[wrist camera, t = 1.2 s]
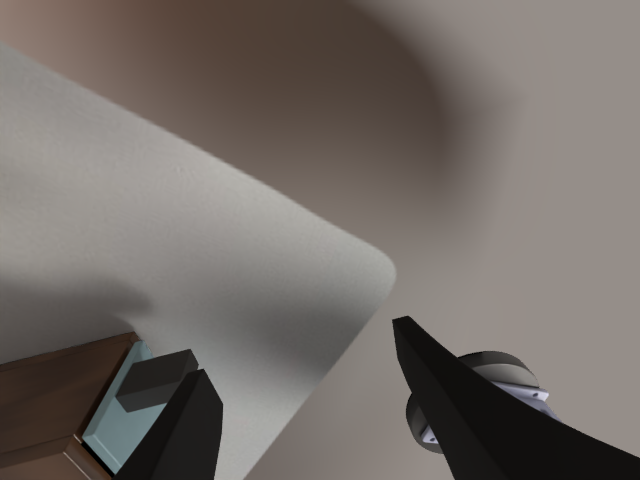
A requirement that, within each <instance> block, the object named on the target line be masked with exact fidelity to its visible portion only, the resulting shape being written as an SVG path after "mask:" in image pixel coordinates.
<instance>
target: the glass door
mask: <svg viewBox="0 0 640 480" xmlns="http://www.w3.org/2000/svg"><path fill="white" fill-rule="evenodd" d="M198 365H199V364H198V362H197V360H196V358H195V356H194V354H193V353H192V351H191V349H188V350H184V351H180V352H176V353H172V354H168V355H164V356H160V357H156V358H154V356H153V355H152V353H151V352H150V350H149V348H148V347H147V345H146V343H145V342H144V340H142V341H138V342H135V343H134V345H133V347H132V349H131V350H130V352H129V354H128V356H127V357H126V359H125V361H124V363H123V365H122V366H121V368H120V370H119V372H118V373H117V375H116V377H115V379H114V381H113V382H112V384H111V386H110V388H109V389H108V391H107V393H106V395H105V397H104V398H103V400H102V402H101V404H100V405H99V407H98V409H97V411H96V413H95V414H94V416H93V418H92V420H91V422H90V423H89V425H88V427H87V429H86V430H85V432H84V434H83V436H82V439H83V440H84V441H85V442H86V443H87V444H88V445H89V446H90V447H91V448H92V450H93V451H94V452H95V453H96V454H97V455H98V456H99V457H100V458H101V459H102V461H103V462H104V463H105V464H106V465H107V466H108V467H109V468H110V469H111V470H112V472H113V473H114V474H116V473H117V472H118V471H119V469H120V468H121V467H122V466H123V464H124V463H125V462H126V460H127V459H128V458H129V456H130V455H131V454H132V452H133V451H134V449H135V448H136V447H137V445H138V444H139V443H140V441H141V440H142V439H143V437H144V436H145V435H146V433H147V432H148V430H149V429H150V428H151V426H152V425H153V423H154V422H155V420H156V419H157V417H158V416H159V414H160V413H161V412H162V410H163V409H164V407H165V406H166V404H167V403H168V401H169V400H170V398H171V397H172V395H173V394H174V392H175V391H176V389H177V388H178V386H179V385H180V383H181V382H182V380H183V379H184V377H185V376H186V374H187V373H188V372H192V371H196V370H197V369H198Z"/></svg>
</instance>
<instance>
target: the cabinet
mask: <svg viewBox="0 0 640 480" xmlns="http://www.w3.org/2000/svg"><path fill="white" fill-rule="evenodd" d="M138 341H140V340H139V339H138V337H137V335H136V334H135V332H131V333H127V334H123V335H119V336H115V337H111V338H107V339H103V340H99V341H95V342H91V343H87V344H83V345H79V346H74V347H70V348H66V349H62V350H58V351H54V352H50V353H46V354H42V355H38V356H34V357H30V358H26V359H22V360H18V361H14V362H10V363H6V364H2V365H0V480H111V479H112V478H113V477H114V476H115V474H114V473H113V472H112V470H111V469H110V468H109V467H108V466H107V465H106V464H105V463H104V462H103V461H102V459H101V458H100V457H99V456H98V455H97V454H96V453H95V452H94V451H93V450H92V448H91V447H90V446H89V445H88V444H87V443H86V442H85V441H84V440H83V439H82V436H83V434H84V432H85V430H86V429H87V427H88V425H89V423H90V422H91V420H92V418H93V416H94V414H95V413H96V411H97V409H98V407H99V405H100V404H101V402H102V400H103V398H104V397H105V395H106V393H107V391H108V389H109V388H110V386H111V384H112V382H113V381H114V379H115V377H116V375H117V373H118V372H119V370H120V368H121V366H122V365H123V363H124V361H125V359H126V357H127V356H128V354H129V352H130V350H131V349H132V347H133V345H134V343H135V342H138Z"/></svg>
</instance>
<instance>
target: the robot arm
mask: <svg viewBox="0 0 640 480" xmlns="http://www.w3.org/2000/svg"><path fill="white" fill-rule="evenodd" d="M392 323H393V329H394V337H395V344H396V350H397V358H398V361H399V363H400V366H401V368H402V371H403V374H404V376H405V379H406V381H407V384H408V386H409V388H410V390H411V392H412V394H413V396H414V397H415V399H416V401H417V403H418V405H419V407H420V409H421V411H422V413H423V415H424V417H425V419H426V420H427V422H428V424H429V425H428V426H427V428H426V429H425V431H424V432H423V434H422V435H421V438H422V440H423V442H427V443H439V445H440V448H441V450H442V452H443V454H444V456H445V458H446V460H447V463H448V465H449V467H450V470H451V472H452V474H453V477H454V479H455V480H640V458H639V457H637V456H634V455H632V454H630V453H627V452H625V451H623V450H620V449H618V448H616V447H613V446H611V445H609V444H606V443H604V442H602V441H599V440H597V439H595V438H593V437H590V436H588V435H586V434H584V433H582V432H580V431H577V430H576V429H573V428H572V427H569V426H567V425H565V424H563V423H562V421H561V420H560V419H559V418H558V417H557V416H556V414H555V413H554V412H553V411H552V410H551V409H550V408H549V407H548V405H547V404H546V403H545V402H544V401H545V400H546V398H547V397H548V396H549V393H548V392H547V391H546V390H545V389H540V388H533V387H527V386H520V385H513V384H507V383H500V382H493V381H489V380H487V379H486V378H484V377H483V376H482V375H480V374H479V373H477V372H476V371H474V370H473V369H472V368H470V367H469V366H468V365H466V364H465V363H463V362H462V361H461V360H460V359H458V358H457V357H456V356H454V355H453V354H452V353H451V352H449V351H448V350H447V349H446V348H444V347H443V346H442V345H441V344H440V343H438V342H437V341H436V340H435V339H434V338H433V337H431V336H430V335H429V334H428V333H427V332H426V331H424V329H422V328H421V327H420V326H419V325H418V324H417V323H416V322H415V321H414V320H413V319H412V318H411V317H409V316H404V317H401V318H397V319H393V320H392ZM222 420H223V403H222V401H221V399H220V397H219V396H218V394H217V392H216V390H215V388H214V386H213V385H212V383H211V381H210V379H209V377H208V375H207V374H206V372H205V370H204V369H200V370H196V371H192V372H188V373H187V374H186V376H185V377H184V379H183V380H182V382H181V383H180V385H179V386H178V388H177V389H176V391H175V392H174V394H173V395H172V397H171V398H170V400H169V401H168V403H167V404H166V406H165V407H164V409H163V410H162V412H161V413H160V414H159V416H158V417H157V419H156V420H155V422H154V423H153V425H152V426H151V428H150V429H149V430H148V432H147V433H146V435H145V436H144V437H143V439H142V440H141V441H140V443H139V444H138V445H137V447H136V448H135V449H134V451H133V452H132V454H131V455H130V456H129V458H128V459H127V460H126V462H125V463H124V464H123V466H122V467H121V468H120V469H119V471H118V472H117V473H116V474H115V476H114V477H113V478H112V479H111V480H214V476H215V470H216V464H217V458H218V453H219V447H220V441H221V434H222Z"/></svg>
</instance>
